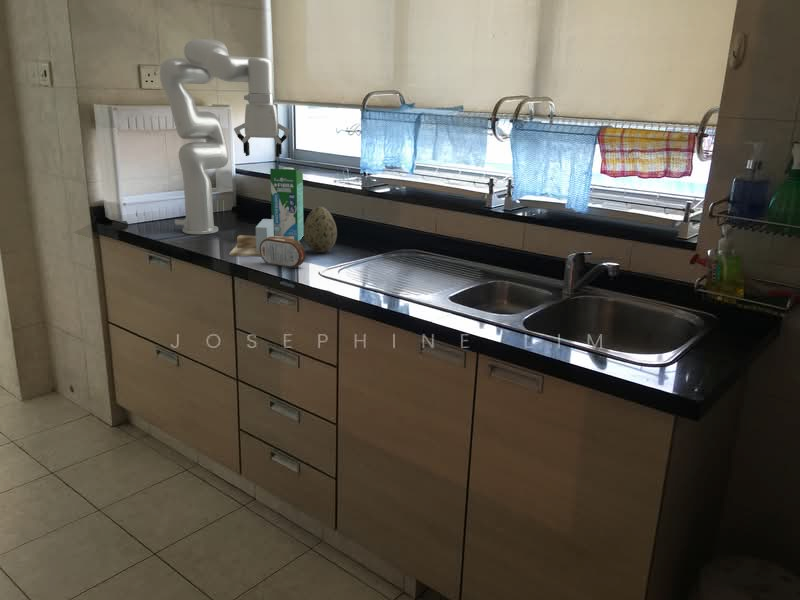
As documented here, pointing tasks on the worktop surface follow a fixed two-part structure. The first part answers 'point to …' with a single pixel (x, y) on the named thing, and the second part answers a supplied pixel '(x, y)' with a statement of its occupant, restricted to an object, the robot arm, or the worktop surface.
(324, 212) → the decorative egg
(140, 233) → the worktop surface
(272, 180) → the milk carton
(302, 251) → the tin
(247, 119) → the robot arm
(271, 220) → the pale blue notched block
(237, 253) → the straw hat
